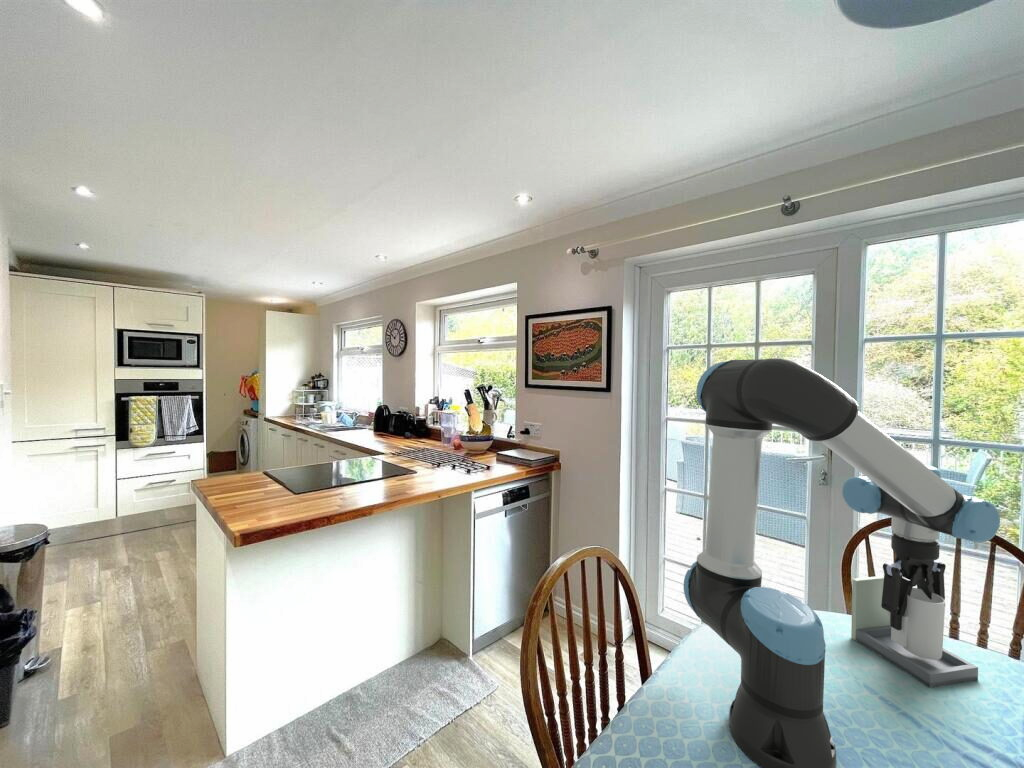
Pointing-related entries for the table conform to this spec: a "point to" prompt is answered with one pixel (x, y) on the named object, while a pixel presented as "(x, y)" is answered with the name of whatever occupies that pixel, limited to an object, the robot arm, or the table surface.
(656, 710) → the table surface
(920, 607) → the mug
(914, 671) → the mug holder
